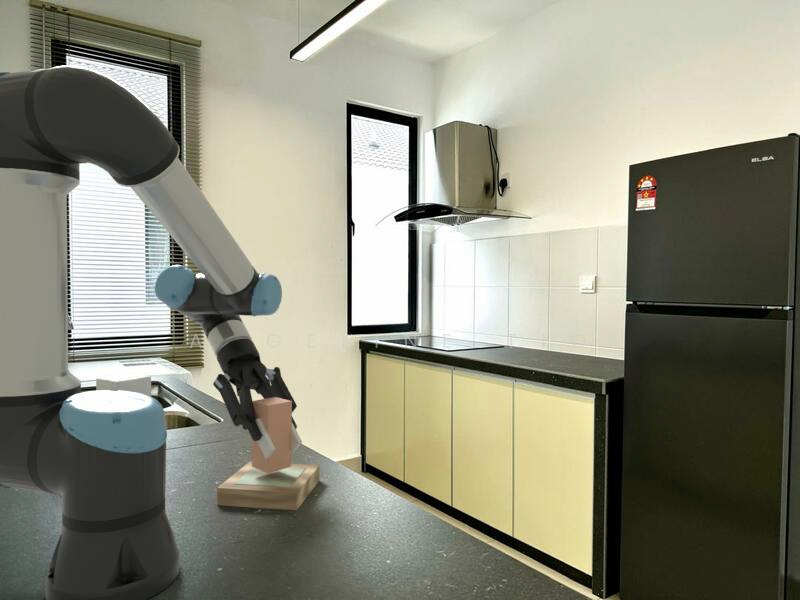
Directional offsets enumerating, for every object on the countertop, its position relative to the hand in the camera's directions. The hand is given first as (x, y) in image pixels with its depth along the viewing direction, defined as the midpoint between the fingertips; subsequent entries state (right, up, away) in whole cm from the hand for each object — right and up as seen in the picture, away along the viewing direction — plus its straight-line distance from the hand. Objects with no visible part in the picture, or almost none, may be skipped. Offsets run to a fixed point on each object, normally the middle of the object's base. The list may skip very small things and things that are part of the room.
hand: (284, 450), depth 97 cm
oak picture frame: (-3, -8, +3) cm, 9 cm away
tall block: (-3, -4, +3) cm, 5 cm away
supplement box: (-46, -7, +35) cm, 58 cm away
